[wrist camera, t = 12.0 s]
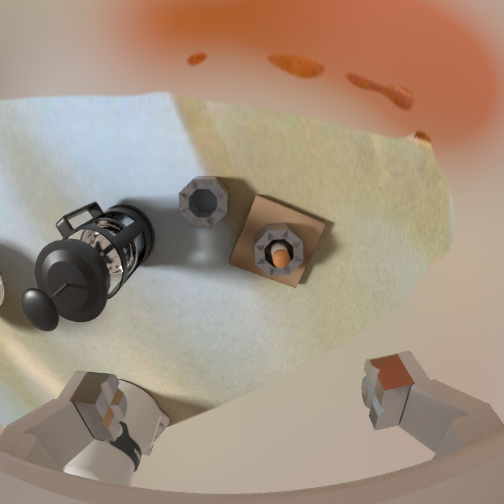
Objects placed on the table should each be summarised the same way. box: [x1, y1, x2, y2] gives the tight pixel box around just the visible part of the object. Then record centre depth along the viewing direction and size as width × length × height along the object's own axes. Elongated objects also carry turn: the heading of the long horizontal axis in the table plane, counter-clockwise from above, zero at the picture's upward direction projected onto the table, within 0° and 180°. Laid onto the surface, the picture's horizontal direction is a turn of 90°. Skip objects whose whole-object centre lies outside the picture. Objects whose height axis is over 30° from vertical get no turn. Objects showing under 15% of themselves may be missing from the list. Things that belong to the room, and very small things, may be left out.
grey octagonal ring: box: [179, 176, 229, 227], centre depth 41 cm, size 6×6×4 cm
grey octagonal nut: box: [254, 222, 303, 276], centre depth 42 cm, size 6×6×4 cm
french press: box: [22, 202, 154, 331], centre depth 33 cm, size 12×9×23 cm
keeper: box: [229, 194, 326, 288], centre depth 41 cm, size 10×10×8 cm
